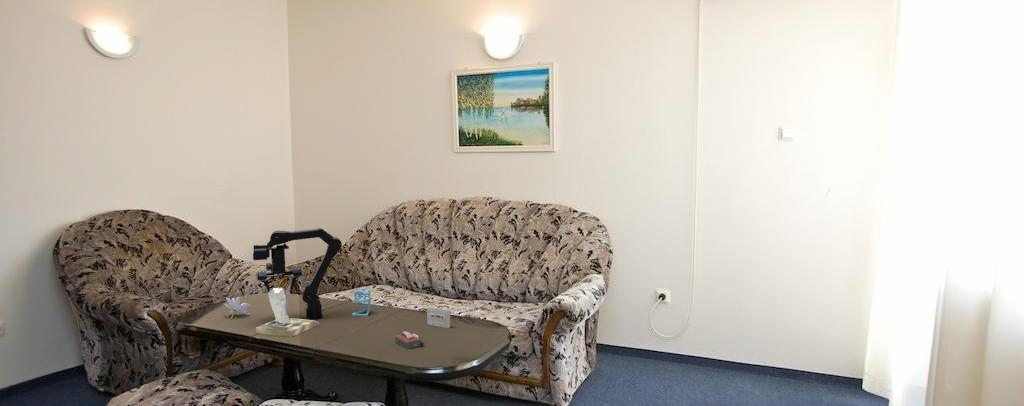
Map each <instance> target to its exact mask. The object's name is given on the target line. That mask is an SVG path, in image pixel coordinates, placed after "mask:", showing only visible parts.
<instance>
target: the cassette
mask: <svg viewBox="0 0 1024 406" xmlns="http://www.w3.org/2000/svg"><path fill="white" fill-rule="evenodd" d="M426 314H427V315H426V316H427V317H426V318H427V320H426V321H427V323H426V324H427V325H429V326H435V327H440V328H444V329H445V328H447V329H450V328H451V310H450V309H445V308H444V309H443V308H438V307H433V306H432V307H431V306H428V307H426ZM438 316H439V317H438Z"/></svg>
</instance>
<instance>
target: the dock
mask: <svg viewBox="0 0 1024 406" xmlns="http://www.w3.org/2000/svg"><path fill="white" fill-rule="evenodd" d="M289 318H290V322H289V323H288V324H286V325H282V326H277V325H276V324H275V319H274V320H271V321H269V322H266V323H264V324H261V325H259V326H257V327H255V331H256V332H255V333H256V334H259V335H269V336H276V337H277V336H279V337H289V338H292V337H294V336H297V335H300V334H301V333H303V332H306V331H307V330H311V329H313V328H315V327H317V326H319V325H320V321H316V319H312V320H308V319H305V318H304V319H303V318H295V317H293V318H292V317H289Z"/></svg>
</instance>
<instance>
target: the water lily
mask: <svg viewBox="0 0 1024 406" xmlns="http://www.w3.org/2000/svg"><path fill="white" fill-rule="evenodd" d="M225 300H226V302H227V303H223V305H224V306H225V307H226V308H228V309H229V310H230V309H231V310H230V311H229V313H230V316H231V317H230V320H233V317H234V315H235V314H236V313H239V314H242V315H246V316H251V315H252V314H251V313H250V312H248V310H246V309H249V308H250V307H251V306H252V304H249V303H247V302H243V303H241V297H240V296H238V297H236V298H234V297H232V298H231V299H230V298H229V297H225ZM240 303H241V304H240Z"/></svg>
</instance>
